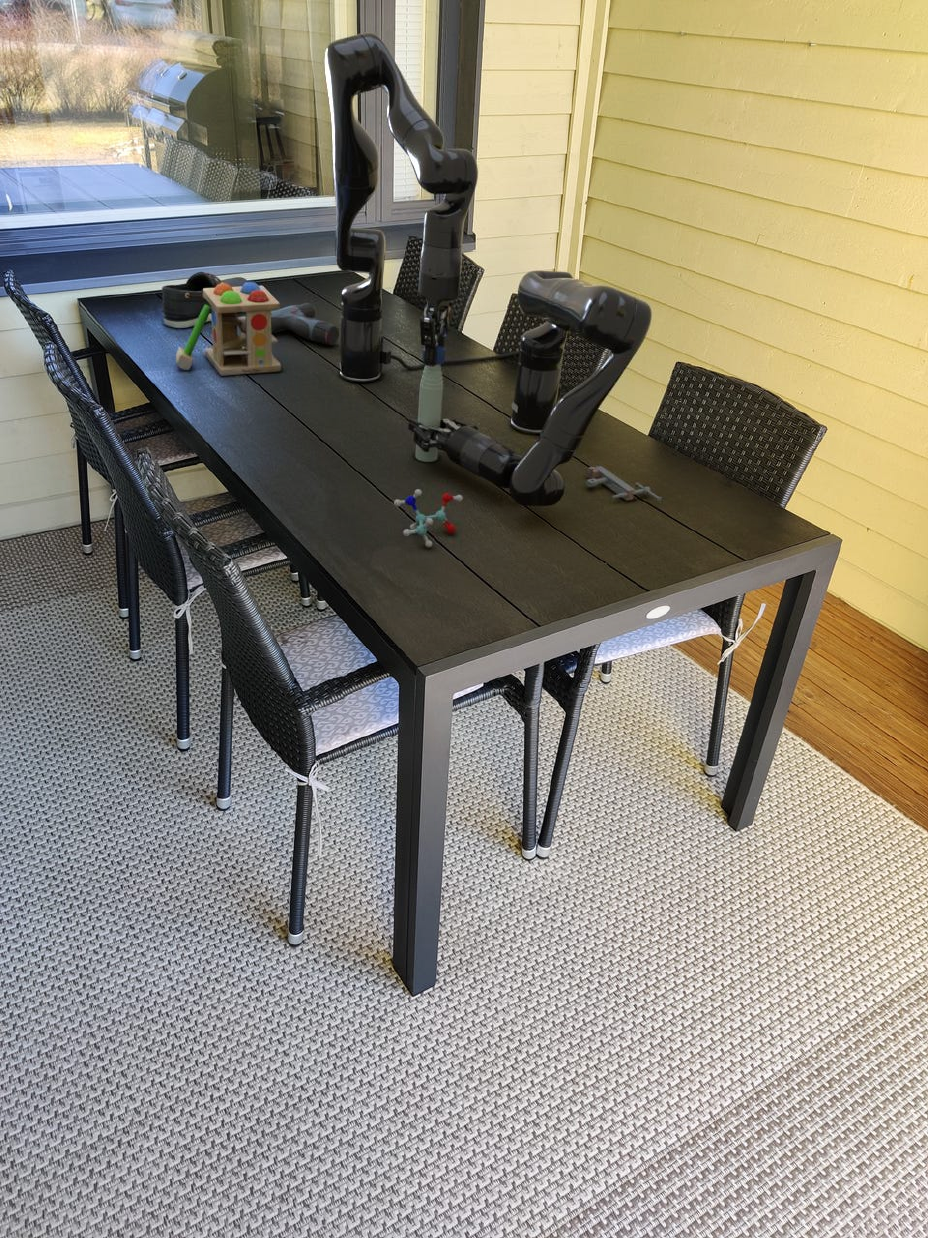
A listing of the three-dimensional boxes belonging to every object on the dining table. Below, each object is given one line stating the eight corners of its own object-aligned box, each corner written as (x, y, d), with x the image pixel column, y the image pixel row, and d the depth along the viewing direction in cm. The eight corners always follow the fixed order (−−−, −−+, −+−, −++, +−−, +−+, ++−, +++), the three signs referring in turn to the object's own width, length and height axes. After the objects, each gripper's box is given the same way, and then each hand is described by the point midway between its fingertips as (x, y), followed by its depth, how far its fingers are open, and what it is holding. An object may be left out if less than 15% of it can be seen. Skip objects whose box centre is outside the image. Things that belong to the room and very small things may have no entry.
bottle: (411, 458, 197) (418, 352, 185) (421, 450, 200) (428, 345, 188) (431, 463, 196) (439, 357, 183) (441, 455, 199) (449, 351, 187)
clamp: (576, 469, 194) (616, 461, 198) (574, 479, 195) (614, 471, 199) (622, 503, 183) (664, 494, 188) (620, 513, 184) (661, 504, 189)
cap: (440, 357, 189) (442, 344, 188) (446, 364, 186) (447, 351, 184) (420, 357, 188) (421, 344, 186) (425, 365, 185) (426, 351, 183)
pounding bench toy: (183, 379, 220) (176, 299, 210) (169, 357, 231) (162, 280, 221) (282, 371, 230) (280, 294, 220) (264, 350, 240) (262, 276, 230)
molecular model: (452, 541, 163) (433, 483, 162) (403, 556, 167) (383, 500, 165) (474, 530, 174) (456, 475, 172) (427, 544, 177) (409, 492, 176)
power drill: (365, 313, 253) (305, 296, 261) (318, 330, 240) (256, 311, 248) (364, 334, 256) (305, 316, 264) (318, 351, 243) (257, 332, 251)
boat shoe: (271, 306, 270) (269, 267, 265) (181, 330, 246) (177, 288, 241) (236, 297, 276) (233, 259, 271) (146, 320, 252) (141, 279, 247)
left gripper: (432, 257, 184) (425, 347, 193) (408, 275, 172) (402, 369, 182) (470, 263, 182) (462, 354, 192) (449, 282, 171) (441, 377, 180)
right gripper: (506, 426, 188) (448, 396, 198) (449, 441, 179) (392, 409, 190) (501, 462, 192) (445, 431, 202) (446, 479, 184) (390, 445, 194)
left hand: (433, 361), depth 187 cm, fingers closed on cap, 4 cm apart
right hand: (420, 420), depth 196 cm, fingers closed on bottle, 4 cm apart
